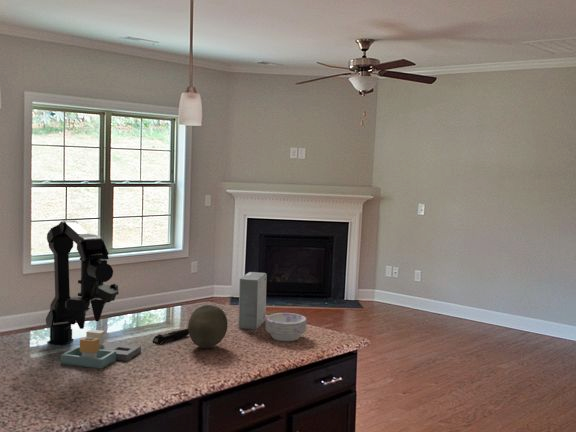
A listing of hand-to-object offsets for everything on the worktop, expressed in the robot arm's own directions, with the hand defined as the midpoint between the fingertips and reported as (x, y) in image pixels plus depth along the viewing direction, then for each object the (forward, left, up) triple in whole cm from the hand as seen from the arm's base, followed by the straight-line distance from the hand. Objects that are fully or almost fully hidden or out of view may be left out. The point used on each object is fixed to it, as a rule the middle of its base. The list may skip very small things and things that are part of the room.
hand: (89, 324), depth 198 cm
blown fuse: (0, -1, -11) cm, 11 cm away
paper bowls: (+53, +48, -12) cm, 73 cm away
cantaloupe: (+30, +26, -12) cm, 42 cm away
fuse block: (+2, +9, -12) cm, 15 cm away
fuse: (-3, +9, -12) cm, 15 cm away
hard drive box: (+36, +62, -12) cm, 73 cm away
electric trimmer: (+15, +31, -12) cm, 36 cm away
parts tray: (0, -1, -12) cm, 12 cm away
